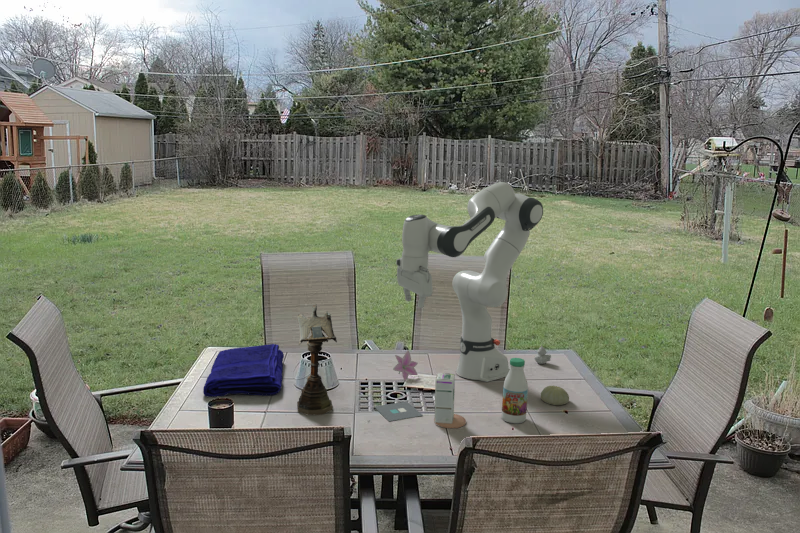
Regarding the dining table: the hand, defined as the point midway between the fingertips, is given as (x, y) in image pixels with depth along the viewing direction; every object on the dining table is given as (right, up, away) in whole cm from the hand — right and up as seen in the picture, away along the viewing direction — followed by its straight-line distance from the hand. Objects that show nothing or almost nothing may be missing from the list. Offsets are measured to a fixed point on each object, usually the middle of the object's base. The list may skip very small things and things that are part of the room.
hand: (414, 303), depth 216 cm
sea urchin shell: (+48, -34, +5) cm, 59 cm away
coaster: (+11, -36, -14) cm, 40 cm away
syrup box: (+9, -36, -14) cm, 40 cm away
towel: (-61, -29, +18) cm, 70 cm away
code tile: (-5, -35, -7) cm, 36 cm away
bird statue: (-31, -34, -9) cm, 47 cm away
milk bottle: (+32, -37, -11) cm, 50 cm away
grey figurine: (+53, -27, +42) cm, 73 cm away
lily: (-3, -29, +23) cm, 37 cm away
